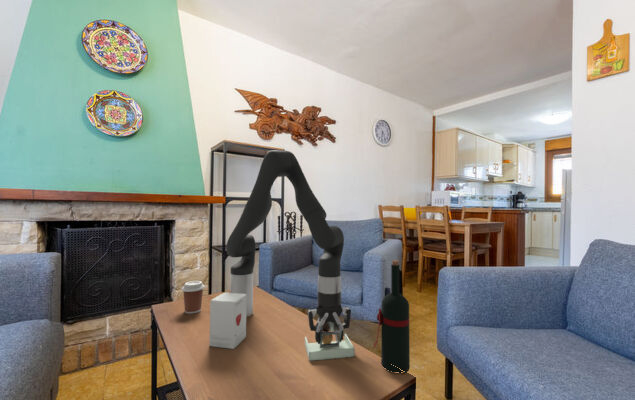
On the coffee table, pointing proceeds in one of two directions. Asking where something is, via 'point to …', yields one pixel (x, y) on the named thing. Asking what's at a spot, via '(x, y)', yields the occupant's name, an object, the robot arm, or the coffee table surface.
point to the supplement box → (227, 320)
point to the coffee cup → (193, 296)
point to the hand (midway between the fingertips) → (329, 341)
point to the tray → (330, 350)
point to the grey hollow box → (330, 333)
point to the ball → (327, 338)
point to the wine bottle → (394, 327)
